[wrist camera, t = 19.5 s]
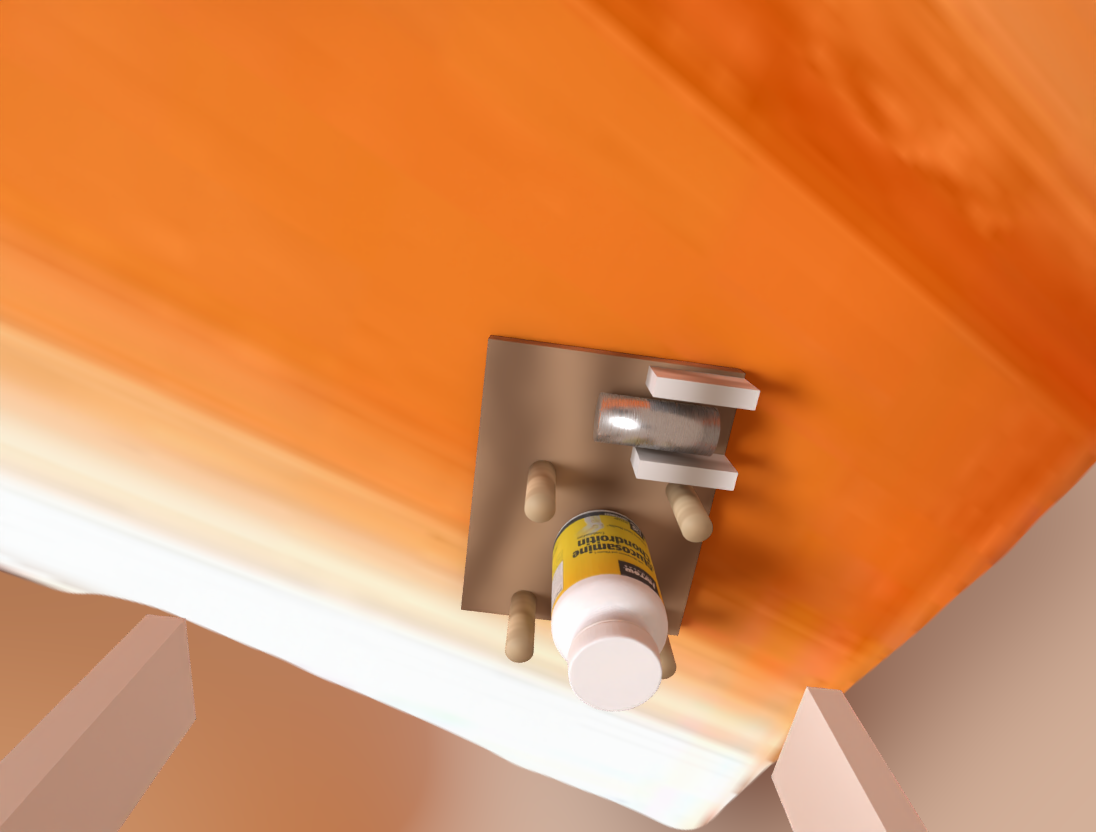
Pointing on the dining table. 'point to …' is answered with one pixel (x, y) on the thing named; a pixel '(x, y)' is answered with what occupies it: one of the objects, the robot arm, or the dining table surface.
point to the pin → (656, 424)
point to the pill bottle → (607, 610)
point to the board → (585, 474)
